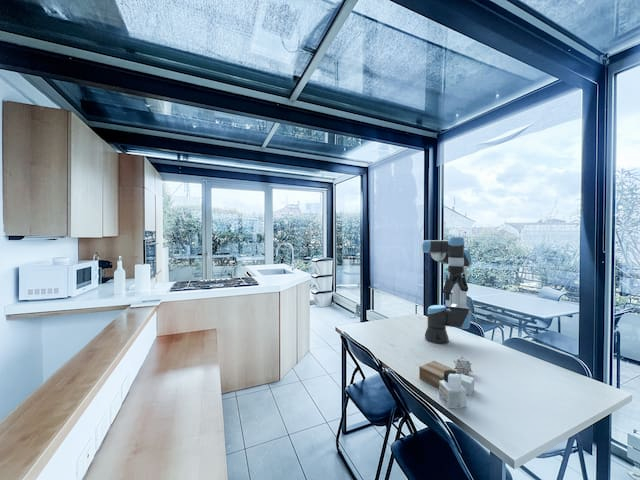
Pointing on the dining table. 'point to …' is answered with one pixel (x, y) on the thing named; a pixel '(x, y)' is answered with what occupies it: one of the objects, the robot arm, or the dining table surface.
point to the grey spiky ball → (463, 366)
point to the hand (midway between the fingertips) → (455, 304)
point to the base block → (433, 373)
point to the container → (452, 390)
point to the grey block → (467, 384)
